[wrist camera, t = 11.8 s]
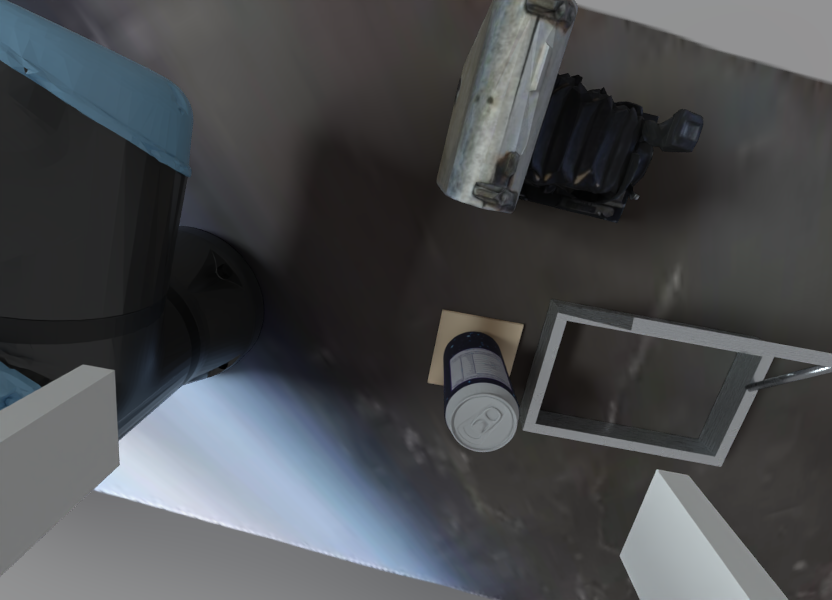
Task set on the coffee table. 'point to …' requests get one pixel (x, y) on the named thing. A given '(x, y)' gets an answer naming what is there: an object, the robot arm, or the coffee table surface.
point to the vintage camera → (546, 122)
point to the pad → (460, 322)
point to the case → (743, 371)
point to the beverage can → (478, 393)
